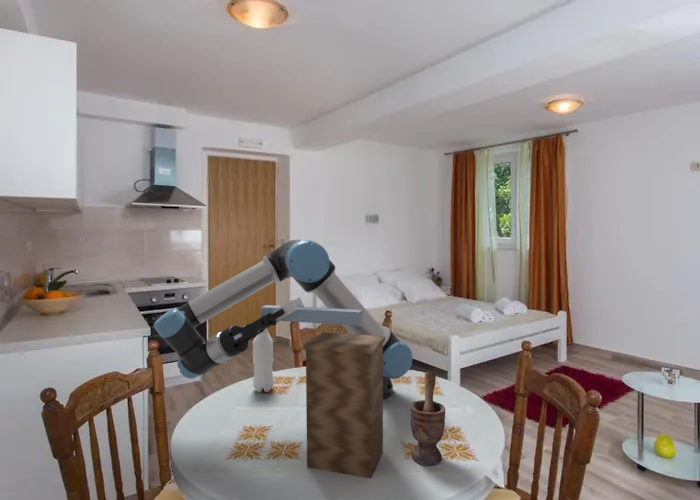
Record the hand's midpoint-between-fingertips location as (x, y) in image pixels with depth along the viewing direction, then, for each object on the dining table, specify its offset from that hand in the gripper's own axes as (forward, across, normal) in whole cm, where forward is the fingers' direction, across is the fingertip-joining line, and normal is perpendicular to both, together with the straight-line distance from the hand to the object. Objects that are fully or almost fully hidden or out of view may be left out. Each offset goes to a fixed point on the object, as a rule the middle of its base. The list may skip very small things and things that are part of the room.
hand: (298, 303), depth 108 cm
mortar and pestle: (+7, -9, -49) cm, 50 cm away
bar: (+1, 0, -5) cm, 5 cm away
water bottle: (-45, -37, -19) cm, 61 cm away
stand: (-9, 0, -40) cm, 41 cm away
